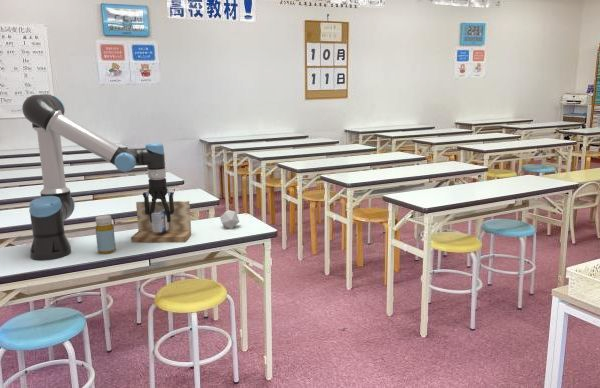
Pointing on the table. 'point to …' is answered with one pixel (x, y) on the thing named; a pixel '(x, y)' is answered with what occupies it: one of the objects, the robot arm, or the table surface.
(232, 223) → the die
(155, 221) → the medicine box
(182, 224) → the cleat board
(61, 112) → the robot arm
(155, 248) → the table surface
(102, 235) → the bottle
